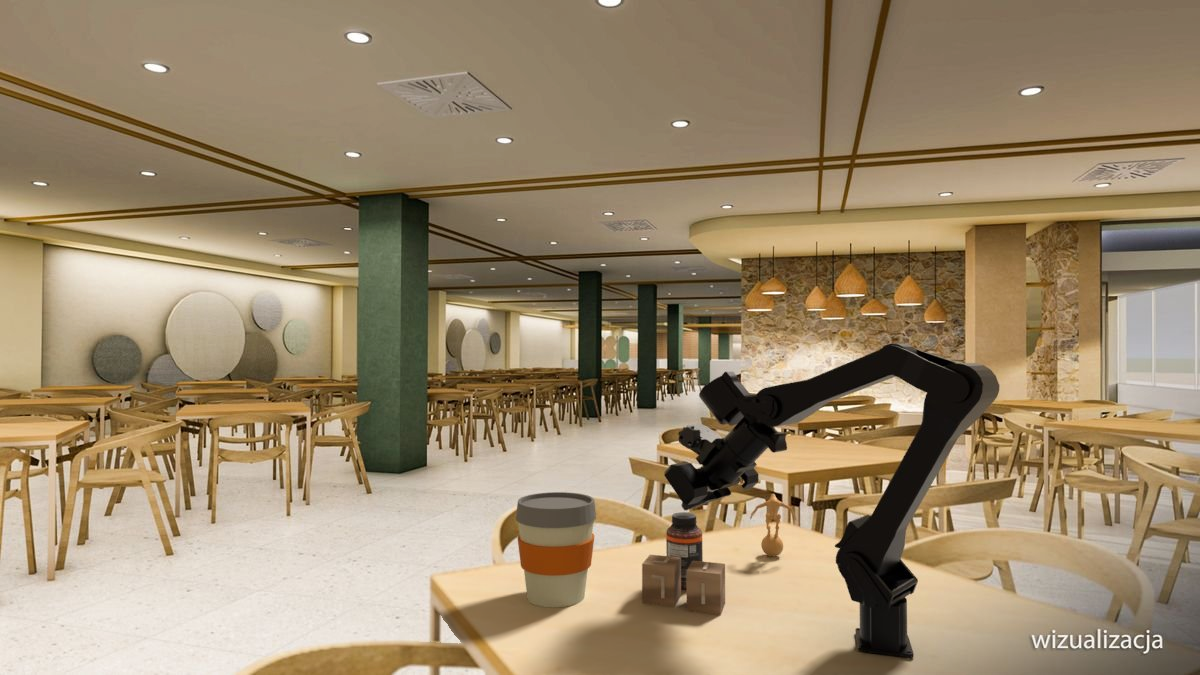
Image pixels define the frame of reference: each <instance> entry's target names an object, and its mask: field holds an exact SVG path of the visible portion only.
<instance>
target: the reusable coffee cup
mask: <svg viewBox="0 0 1200 675" xmlns="http://www.w3.org/2000/svg"><path fill="white" fill-rule="evenodd" d="M596 511H597V510H596V503H595V498H594V497H592V496H590V495H588V494H585V493H584V494H583V493H577V492H567V491H566V492H565V491H553V492H540V493H532V494H528V495H524V496H522V497H520V498H519V499H517V505H516V515H515V521H516V522H517V523H518V531H519V534H518V536H517V545H518V552H519V560H520V561H519V562H520V567H521V568H522V570H523V572H524V573H523V574H524V581H525V590H526V596H527V600H528V602H529V603H531V604H533V605H535V606H538V607H543V608H544V607H545V608H565V607H570V606H574V605H576V604H577V605H578V604H579V603H582V601H583V600H585V596H586V589H587V588H586V586H587V580H588V573H589V572H588V571H589V570H588V569H589V568H590V567H591V566H592V562H593V561H592V559H593V552H594V543H595V535H594V533H593V529H594V523H595V522H594V521H595V520H596V519H597V513H596Z"/></svg>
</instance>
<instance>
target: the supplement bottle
mask: <svg viewBox="0 0 1200 675" xmlns="http://www.w3.org/2000/svg"><path fill="white" fill-rule="evenodd" d="M665 538H666V539H665V540H666V541H665V542H666V546H665V547H666V556H670V557H681V590H682V589H683V590H687V586H686V571H687V569H688V567H689V566H690V564H691V562H692V561H701V562H704V560H703V554H704V553H703V531H702V529H701V528H700V527H699V526H698V525H697V515H696V514H695V513H691V512H687V511H686V512H685V511H681V512H680V511H679V512H676V513H673V514H672V515H671V525H670V526H669V527H668V528H667V530H666V537H665Z"/></svg>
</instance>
